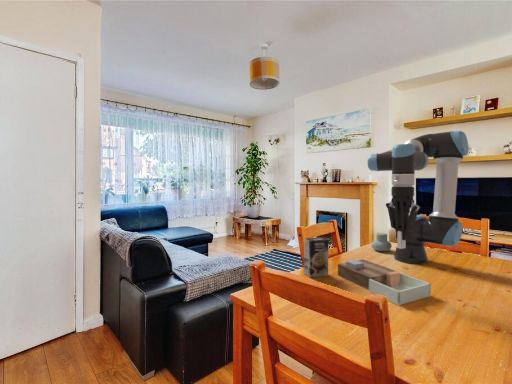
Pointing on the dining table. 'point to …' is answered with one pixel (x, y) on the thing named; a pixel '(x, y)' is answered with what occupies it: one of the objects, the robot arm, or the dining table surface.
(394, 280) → the terracotta tile
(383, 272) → the board
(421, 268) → the dining table surface
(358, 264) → the slate tile
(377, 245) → the air freshener
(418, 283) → the tray
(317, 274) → the coffee box
